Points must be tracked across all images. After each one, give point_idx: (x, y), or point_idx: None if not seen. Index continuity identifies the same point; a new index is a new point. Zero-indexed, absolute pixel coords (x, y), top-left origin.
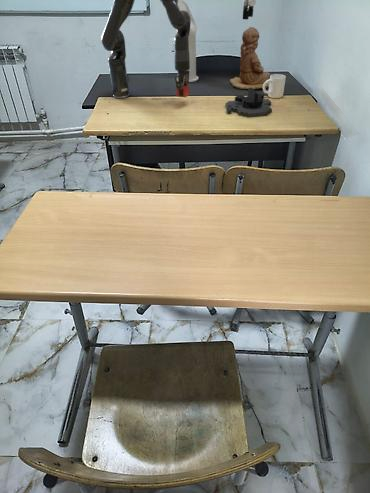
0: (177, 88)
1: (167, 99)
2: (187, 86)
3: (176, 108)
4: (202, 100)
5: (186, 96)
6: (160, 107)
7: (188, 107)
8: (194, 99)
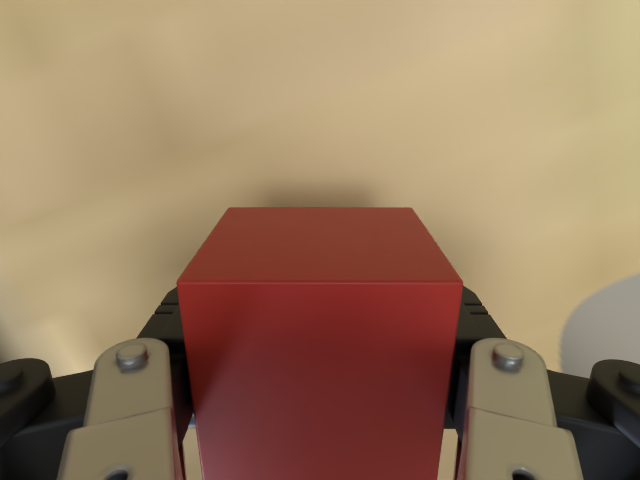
0: (432, 455)
1: (188, 454)
2: (265, 291)
3: None
4: (9, 31)
5: (366, 208)
6: (447, 430)
7: (373, 133)
8: (34, 170)
